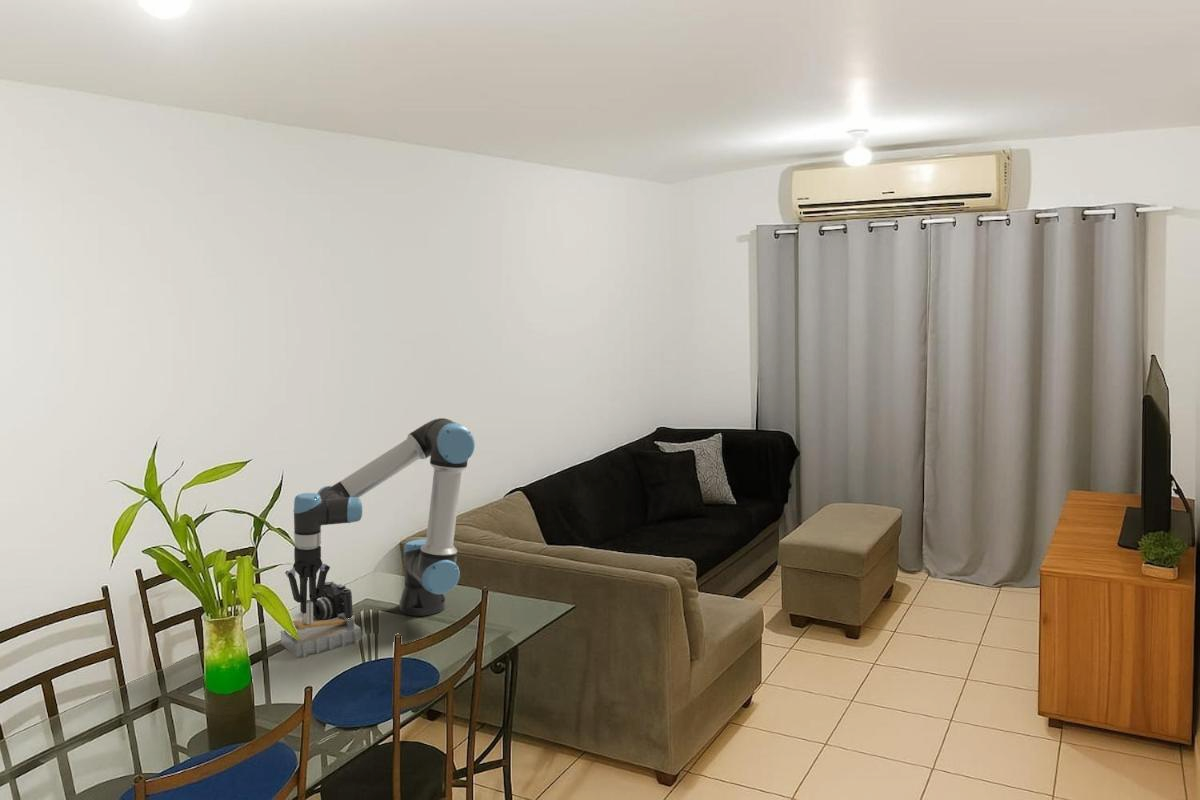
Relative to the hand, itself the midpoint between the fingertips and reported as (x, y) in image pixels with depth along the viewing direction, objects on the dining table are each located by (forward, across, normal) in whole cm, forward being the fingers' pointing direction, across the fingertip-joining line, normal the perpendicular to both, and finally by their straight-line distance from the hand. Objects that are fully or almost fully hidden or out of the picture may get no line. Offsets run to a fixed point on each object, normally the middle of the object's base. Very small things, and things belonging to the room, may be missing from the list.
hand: (308, 622), depth 278 cm
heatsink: (+7, -4, 0) cm, 8 cm away
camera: (+7, -15, -18) cm, 24 cm away
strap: (+2, -4, 0) cm, 5 cm away
